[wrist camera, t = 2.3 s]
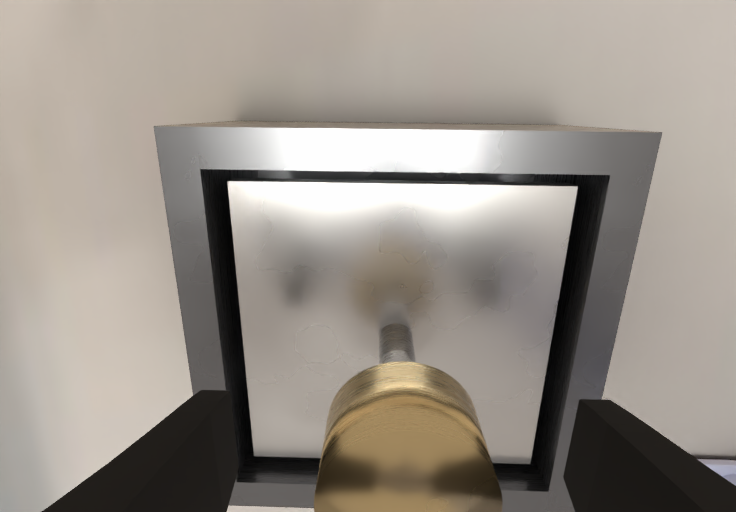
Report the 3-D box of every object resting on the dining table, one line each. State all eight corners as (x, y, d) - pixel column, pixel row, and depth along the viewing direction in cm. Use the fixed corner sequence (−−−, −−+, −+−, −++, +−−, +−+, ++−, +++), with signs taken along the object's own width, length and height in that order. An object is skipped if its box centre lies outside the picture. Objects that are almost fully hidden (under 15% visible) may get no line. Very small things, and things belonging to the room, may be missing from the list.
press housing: (558, 124, 16) (662, 132, 10) (517, 397, 19) (575, 516, 14) (235, 121, 16) (154, 126, 10) (258, 391, 20) (209, 504, 14)
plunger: (568, 183, 12) (769, 258, 6) (524, 450, 15) (624, 685, 9) (234, 177, 12) (86, 245, 6) (258, 443, 15) (176, 667, 9)
